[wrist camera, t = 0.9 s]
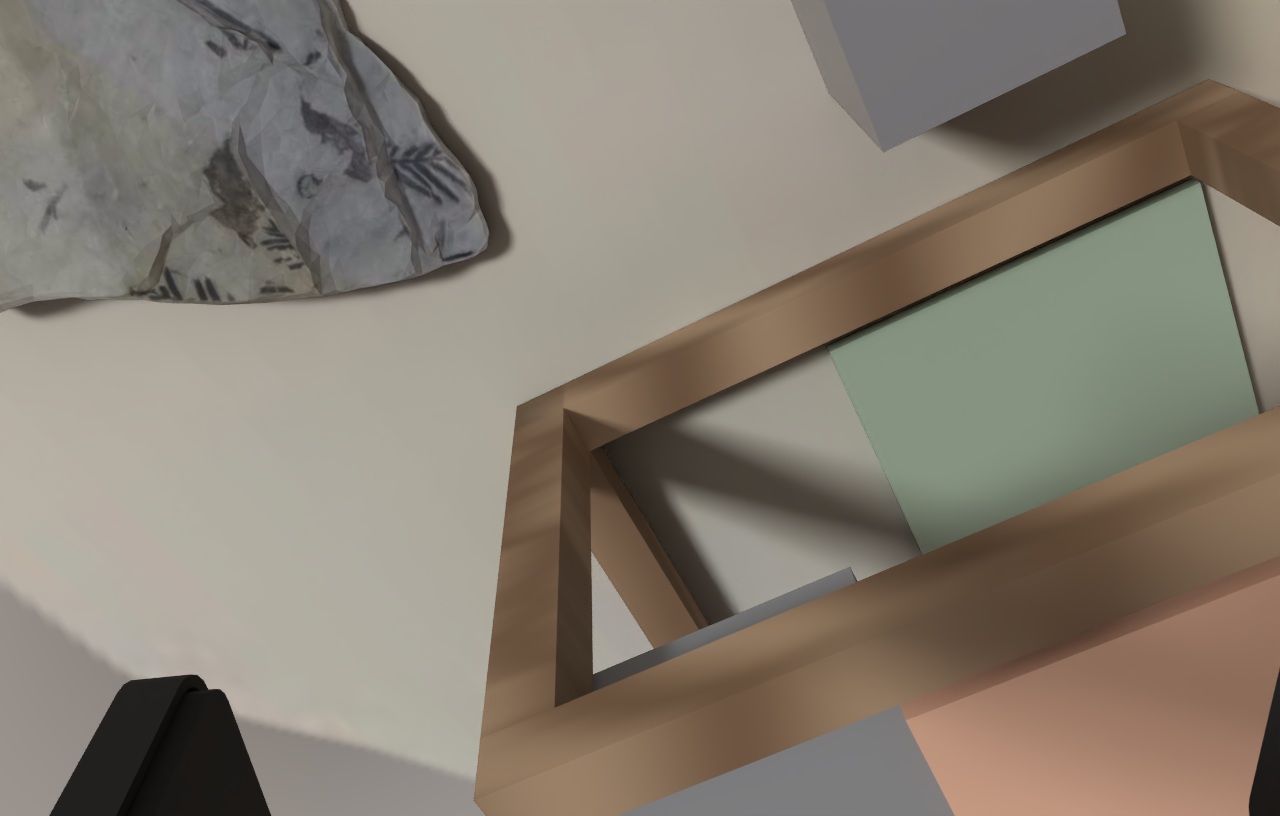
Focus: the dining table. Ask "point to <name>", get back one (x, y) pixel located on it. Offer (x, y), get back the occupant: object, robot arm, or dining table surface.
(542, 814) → the stand
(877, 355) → the mat
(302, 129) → the fossil rock
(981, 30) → the grey block
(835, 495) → the dining table surface
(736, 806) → the trapdoor
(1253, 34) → the dining table surface
